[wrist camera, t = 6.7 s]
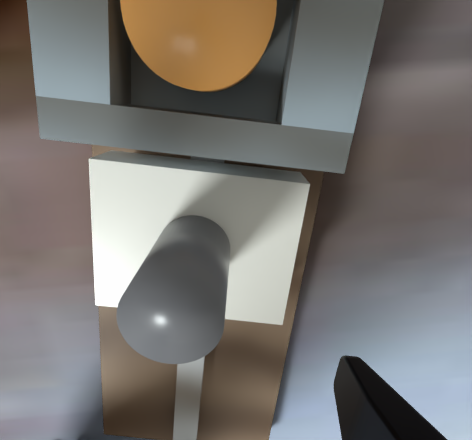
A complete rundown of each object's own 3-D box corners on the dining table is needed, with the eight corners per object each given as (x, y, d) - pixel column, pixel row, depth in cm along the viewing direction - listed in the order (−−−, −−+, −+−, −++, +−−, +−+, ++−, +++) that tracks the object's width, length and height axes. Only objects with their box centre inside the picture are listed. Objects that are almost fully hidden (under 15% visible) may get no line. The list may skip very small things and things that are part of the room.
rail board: (264, 430, 25) (273, 557, 18) (111, 415, 25) (60, 538, 18) (356, -27, 15) (458, -142, 8) (98, -60, 15) (-35, -209, 8)
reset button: (260, 99, 11) (264, 98, 9) (142, 84, 11) (120, 81, 9) (279, -46, 9) (289, -82, 8) (143, -63, 9) (119, -105, 8)
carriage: (277, 296, 18) (299, 421, 11) (114, 279, 18) (30, 394, 11) (300, 172, 15) (347, 229, 8) (111, 150, 15) (0, 190, 8)
